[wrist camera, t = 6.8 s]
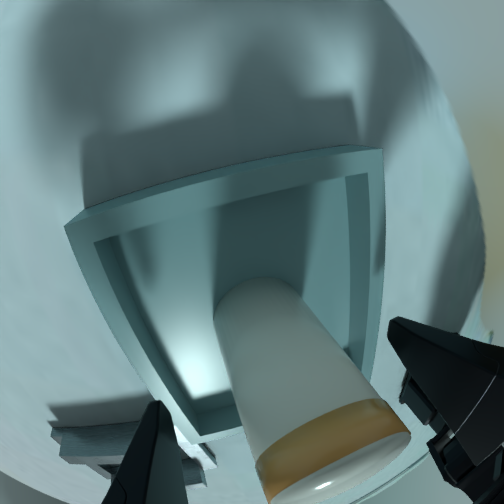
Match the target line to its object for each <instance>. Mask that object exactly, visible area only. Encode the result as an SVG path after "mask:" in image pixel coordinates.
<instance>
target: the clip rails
mask: <svg viewBox="0 0 504 504" xmlns="http://www.w3.org/2000/svg"><path fill="white" fill-rule="evenodd" d="M139 423H140V421H137V422H129V423H122V424H113V425H103V426H91V427H74V428H52V432H51V437H52V438H53V439H54V440H55V441H56V442H58V443H59V444H60V445H61V446H60V453H59V456H60V457H61V458H63V459H64V460H65V461H67V462H68V463H69V464H86V465H87V466H89V467H90V468H91V469H93V470H94V471H96V472H97V473H99V474H100V475H102V476H103V477H105V478H106V479H111V484H112V482H113V479H114V477H116V476H115V475H116V473H117V471H118V468H119V466H118V467H111V466H109V465H108V464H121V462H122V460H123V457H124V455H125V453H126V451H127V449H128V447H129V444H130V442H131V440H132V438H133V436H134V434H135V432H136V429H137V427H138V425H139ZM173 425H174V423H173ZM174 429H175V433H176V437H177V441H178V445H179V446H180V447H181V448H182V449H183V450H184V451H185V452H186V453H187V454H188V455H189V456H190V457H191V458H190V459H184V460H181V461H182V468H183V475H184V482H185V488H186V490H193V489H200V488H205V487H207V483H206V479H205V474H204V470H207V469H212V468H217V467H218V466H217V462H216V459H215V458H214V457H213V455H212V454H211V453H210V452H209V451H208V449H207V448H206V447H205V446H204V445H203V443H199V444H194V445H191V444H190V443H189V442H188V440H187V439H186V438H185V437H184V436H183V434H182V433H181V432H180V431H179V430H178V428H177V427H176V426H175V425H174Z"/></svg>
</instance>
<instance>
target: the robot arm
mask: <svg viewBox="0 0 504 504" xmlns="http://www.w3.org/2000/svg"><path fill="white" fill-rule="evenodd" d="M387 337H388V340H389V342H390V343H391V345H392V347H393V348H394V350H395V352H396V353H397V355H398V357H399V358H400V360H401V361H402V363H403V365H404V366H405V368H406V369H407V370H408V372H409V374H408V377H407V380H406V383H405V386H404V389H403V391H402V394H401V397H400V399H399V402H400V403H401V404H404V403H406V404H407V405H408V407H409V408H410V409H411V410H412V411H413V413H414V414H415V415H416V416H417V418H418V419H419V420H420V421H421V422H422V424H423V425H428V424H429V425H430V426H431V428H432V429H433V430H434V431H435V432H436V434H437V435H436V436H435V437H434V438H432V439H430V440H429V441H428V442H427V443H426V444H427V446H428V448H429V451H430V453H431V455H432V457H433V459H434V461H435V463H436V465H437V466H438V469H439V470H440V472H441V474H442V476H443V479H444V481H446V482H448V483H449V484H451V485H452V486H453V487H456V488H459V489H461V490H462V491H464V492H465V493H466V494H467V495H468V496H469V498H470V499H471V500H472V501H473V504H504V347H500V346H496V345H491V344H487V343H483V342H480V341H476V340H473V339H472V340H471V339H470V338H466V337H463V336H460V334H459V333H457V332H456V333H455V334H453V333H450V332H447V331H444V330H441V329H437V328H434V327H431V326H428V325H425V324H422V323H418V322H415V321H412V320H409V319H406V318H403V317H399V316H398V317H395V318H393V319H391V320H390V321H389V326H388V332H387ZM453 433H454V434H455V436H454V437H453V438H452V439H450V438H449V437H450V436H451V435H452V434H453ZM115 476H116V477H114V479H113V482H112V484H111V486H110V488H109V490H108V492H107V494H106V496H105V498H104V500H103V502H102V503H101V504H188V499H187V493H186V488H185V482H184V475H183V468H182V461H181V455H180V449H179V445H178V441H177V437H176V433H175V429H174V425H173V420H172V416H171V413H170V411H169V410H168V409H167V407H166V406H165V404H164V403H163V402H162V401H161V400H155V401H151V402H150V403H149V404H148V406H147V408H146V410H145V412H144V415H143V417H142V419H141V421H140V423H139V425H138V427H137V429H136V432H135V434H134V436H133V438H132V440H131V442H130V444H129V447H128V449H127V451H126V453H125V455H124V457H123V460H122V462H121V464H120V466H119V468H118V471H117V473H116V475H115Z"/></svg>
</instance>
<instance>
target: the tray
mask: <svg viewBox="0 0 504 504" xmlns="http://www.w3.org/2000/svg"><path fill="white" fill-rule="evenodd" d="M64 228H65V231H66V234H67V237H68V239H69V242H70V245H71V247H72V250H73V252H74V255H75V257H76V259H77V262H78V264H79V267H80V269H81V271H82V273H83V276H84V278H85V280H86V282H87V284H88V287H89V289H90V291H91V293H92V295H93V297H94V299H95V301H96V303H97V305H98V307H99V309H100V311H101V313H102V315H103V317H104V318H105V320H106V322H107V324H108V326H109V328H110V329H111V331H112V333H113V335H114V337H115V338H116V340H117V342H118V343H119V345H120V347H121V349H122V350H123V352H124V353H125V355H126V357H127V358H128V360H129V362H130V363H131V365H132V366H133V368H134V369H135V371H136V372H137V374H138V375H139V377H140V378H141V380H142V381H143V383H144V384H145V386H146V387H147V389H148V390H149V392H150V393H151V394H152V396H153V397H154V399H155V400H161V401H162V402H163V403H164V404H165V406H166V407H167V409H168V410H169V411H170V413H171V416H172V420H173V423H174V425H175V426H176V427H177V428H178V430H179V431H180V432H181V433H182V434H183V436H184V437H185V438H186V439H187V440H188V442H189V443H190V444H191V445H194V444H199V443H204V442H208V441H213V440H217V439H221V438H225V437H229V436H233V435H237V434H240V433H244V429H243V425H242V422H241V419H240V416H239V413H238V410H237V407H236V403H235V400H234V397H233V394H232V390H231V387H230V384H229V380H228V377H227V373H226V370H225V366H224V363H223V359H222V356H221V352H220V348H219V345H218V341H217V337H216V334H215V330H214V325H213V318H214V313H215V310H216V307H217V305H218V303H219V302H220V300H221V299H222V298H223V296H224V295H225V294H226V293H227V292H228V291H230V290H231V289H232V288H233V287H235V286H236V285H238V284H240V283H242V282H244V281H247V280H250V279H253V278H259V277H272V278H277V279H281V280H283V281H285V282H287V283H288V284H290V285H291V286H292V287H293V288H294V289H295V291H296V292H297V293H298V294H299V296H300V297H301V298H302V299H303V300H304V302H305V303H306V304H307V305H308V307H309V308H310V309H311V310H312V312H313V313H314V314H315V315H316V317H317V318H318V319H319V320H320V322H321V323H322V324H323V325H324V327H325V328H326V329H327V330H328V332H329V333H330V334H331V335H332V337H333V338H334V339H335V340H336V342H337V343H338V344H339V345H340V347H341V348H342V349H343V350H344V352H345V353H346V354H347V355H348V357H349V358H350V359H351V360H352V362H353V363H354V364H355V365H356V367H357V368H358V369H359V371H360V372H361V373H362V374H363V376H364V377H365V378H366V379H367V381H368V382H369V383H370V379H371V374H372V369H373V363H374V358H375V351H376V345H377V338H378V331H379V323H380V315H381V305H382V294H383V282H384V266H385V236H386V210H385V181H384V165H383V152H382V148H374V147H366V146H356V145H344V146H336V147H329V148H322V149H316V150H309V151H303V152H297V153H291V154H286V155H280V156H275V157H270V158H264V159H259V160H255V161H250V162H245V163H241V164H236V165H232V166H227V167H223V168H219V169H215V170H210V171H206V172H202V173H199V174H195V175H191V176H187V177H183V178H180V179H176V180H173V181H169V182H166V183H162V184H159V185H155V186H152V187H149V188H145V189H142V190H139V191H136V192H133V193H130V194H127V195H123V196H120V197H117V198H115V199H112V200H109V201H106V202H103V203H100V204H97V205H95V206H92V207H89V208H86V209H84V210H83V211H81V212H80V213H79V214H78V215H77V216H75V217H74V218H73V219H72V220H71V221H69V222H68V223H67V224H66V225H65V226H64Z"/></svg>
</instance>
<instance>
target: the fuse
mask: <svg viewBox="0 0 504 504" xmlns="http://www.w3.org/2000/svg"><path fill="white" fill-rule="evenodd" d="M213 325H214V330H215V334H216V337H217V341H218V345H219V348H220V352H221V356H222V359H223V363H224V366H225V370H226V373H227V377H228V380H229V384H230V387H231V390H232V394H233V397H234V400H235V403H236V407H237V410H238V413H239V416H240V419H241V422H242V425H243V429H244V432H245V435H246V438H247V441H248V444H249V446H250V449H251V452H252V455H253V458H254V461H255V469H256V472H257V475H258V477H259V480H260V483H261V486H262V488H263V491H264V494H265V496H266V499H267V501H268V504H316V503H319V502H322V501H324V500H327V499H330V498H332V497H334V496H337V495H339V494H341V493H343V492H345V491H348V490H349V489H351V488H353V487H355V486H357V485H359V484H361V483H362V482H364V481H366V480H367V479H369V478H370V477H372V476H373V475H375V474H376V473H378V472H379V471H381V470H382V469H383V468H385V467H386V466H387V465H388V464H390V463H391V462H392V461H393V460H394V459H395V458H397V457H398V456H399V455H400V454H401V453H402V452H403V450H404V449H405V448H406V447H407V445H408V444H409V442H410V440H411V432H410V431H409V430H408V428H407V427H406V426H405V425H404V423H403V422H402V421H401V420H400V418H399V417H398V416H397V414H396V413H395V412H394V411H393V409H392V408H391V407H390V406H389V404H388V403H387V402H386V401H385V400H383V399H382V398H381V397H380V396H379V395H378V393H377V392H376V391H375V389H374V388H373V387H372V386H371V384H370V383H369V382H368V381H367V379H366V378H365V377H364V376H363V374H362V373H361V372H360V371H359V369H358V368H357V367H356V365H355V364H354V363H353V362H352V360H351V359H350V358H349V357H348V355H347V354H346V353H345V352H344V350H343V349H342V348H341V347H340V345H339V344H338V343H337V342H336V340H335V339H334V338H333V337H332V335H331V334H330V333H329V332H328V330H327V329H326V328H325V327H324V325H323V324H322V323H321V322H320V320H319V319H318V318H317V317H316V315H315V314H314V313H313V312H312V310H311V309H310V308H309V307H308V305H307V304H306V303H305V302H304V300H303V299H302V298H301V297H300V296H299V294H298V293H297V292H296V291H295V289H294V288H293V287H292V286H291V285H290V284H288V283H287V282H285V281H283V280H281V279H277V278H272V277H259V278H253V279H250V280H247V281H244V282H242V283H240V284H238V285H236V286H235V287H233V288H232V289H231V290H230V291H228V292H227V293H226V294H225V295H224V296H223V298H222V299H221V300H220V302H219V303H218V305H217V307H216V310H215V313H214V318H213Z"/></svg>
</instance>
